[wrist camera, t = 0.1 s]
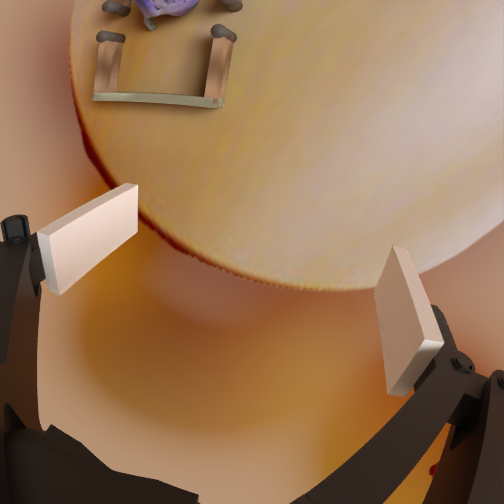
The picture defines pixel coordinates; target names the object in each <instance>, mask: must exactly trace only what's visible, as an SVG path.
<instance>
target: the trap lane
mask: <svg viewBox="0 0 504 504" xmlns="http://www.w3.org/2000/svg"><path fill="white" fill-rule="evenodd" d="M220 1H221V2H222V3H223V4H224V5H226V6H227V7H228V8H229V9H230V10H231V11H234V12H237V11H239V10H241V9H242V6H243V5H242V3H241V0H220ZM130 3H131V0H107V1H106V2H104V4H103V5H102V10H103V11H106V12H109V13H113V14H117V15H121V16H127V15H128V14H129V13H130V10H131V9H130ZM211 34H212V36H214V38H213V44H212V50H211V56H210V62H209V68H208V74H207V81H206V88H205V95H204V97H203V96H193V95H181V94H166V93H144V92H117V85H118V77H119V68H120V61H121V54H122V47H123V43H124V41H125V36H124V35H123V34H118V33H113V32H108V31H100V32H99V33H98V34H97V36H96V40H97V41H98V42H100V43H99V49H98V56H97V64H96V72H95V81H94V92H93V101H131V102H152V103H167V104H179V105H190V106H199V107H208V108H220V107H223V105H224V98H225V92H226V85H227V79H228V73H229V67H230V61H231V55H232V49H233V43H234V42H235V41H236V39H237V36H236V34H235V33H233V32H232V31H230V30H229V29H228V28H226V27H225V26H223V25H221V24H216V25H214V26H213V27H212V28H211Z"/></svg>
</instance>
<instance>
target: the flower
mask: <svg viewBox="0 0 504 504" xmlns="http://www.w3.org/2000/svg"><path fill="white" fill-rule="evenodd" d="M134 2H135V4H136V5H137V6H138V7H139V9H140V10H141V12H142V13H143V16H144V23H145V25H146V26H147V27H148V28H149V29H150V30H155V29H156V27H155V25H154V24H153V22H154V20H153V17H157V16H159V15H163V14H170V15H172V16H181V15H183V14H185V13H187V12H189V11H190V10H191V9H192V8H194V7H195V6H196V5H197V3H198V2H199V0H134Z"/></svg>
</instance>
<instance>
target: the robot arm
mask: <svg viewBox="0 0 504 504" xmlns="http://www.w3.org/2000/svg"><path fill="white" fill-rule="evenodd" d="M137 223H138V185H136V184H130V183H125V184H123V185H121V186H119V187H117V188H115V189H113V190H111V191H109V192H107V193H105V194H103V195H101V196H99V197H97V198H95V199H93V200H91V201H90V202H88V203H86V204H84V205H82V206H80V207H79V208H77V209H75V210H73V211H71V212H69V213H68V214H66V215H64V216H62V217H61V218H59V219H57V220H55V221H54V222H52V223H50V224H49V225H47V226H45V227H43V228H42V229H40V230H38V231H37V232H36V233H34V234H32V235H30V230H29V223H28V217H27V216H26V215H13V216H10V217H7V218H5V219H4V220H3V221H2V222H1V223H0V224H1V229H2V234H3V239H4V242H1V241H0V504H200V503H198V497H199V495H198V494H195V493H192V492H188V491H186V490H183V489H180V488H177V487H174V486H172V485H169V484H167V483H164V482H161V481H159V480H155V479H150V478H145V477H140V476H134V475H130V474H125V473H121V472H117V471H114V470H111V469H110V468H109V467H107V466H106V465H105V464H104V463H103V462H102V461H100V460H99V459H98V458H97V457H96V456H95V455H94V454H93V453H91V452H90V451H89V450H88V449H87V448H86V447H85V446H84V445H83V444H82V443H81V442H79V441H77V440H75V439H74V438H72V437H71V436H69V435H67V434H66V433H64V432H63V431H61V430H59V429H58V428H56V427H55V426H53V425H50V426H49V428H48V429H47V431H43V430H42V427H41V424H40V421H39V414H38V396H37V342H38V323H39V311H40V301H41V300H40V299H41V292H42V289H41V284H40V282H41V281H43V280H44V279H46V283H47V287H48V290H49V291H51V292H53V293H55V294H57V295H61V294H63V293H64V292H65V291H66V290H67V289H68V288H69V287H71V286H72V285H73V284H74V283H75V282H76V281H77V280H79V279H80V278H81V277H82V276H83V275H85V274H86V273H87V272H88V271H89V270H90V269H92V268H93V267H94V266H95V265H97V264H98V263H99V262H100V261H101V260H103V259H104V258H105V257H106V256H107V255H109V254H110V253H111V252H113V251H114V250H115V249H116V248H117V247H119V246H120V245H121V244H123V243H124V242H125V241H126V240H128V239H129V238H130V237H132V236H133V235H134V234H135V233H137V232H138V228H137V226H138V224H137ZM374 296H375V302H376V308H377V314H378V320H379V327H380V334H381V341H382V348H383V356H384V365H385V374H386V383H387V394H388V395H395V396H402V397H406V396H407V395H408V393H409V392H410V391H411V389H412V388H413V387H414V391H415V393H414V394H413V395H412V396H411V398H410V399H409V400H408V401H407V402H406V403H405V404H404V406H403V407H402V408H401V409H400V410H399V411H398V412H397V413H396V414H395V415H394V416H393V417H392V418H391V419H390V421H388V422H387V423H386V424H385V426H384V427H383V428H382V429H381V430H380V431H379V432H378V433H377V434H375V435H374V437H372V439H370V440H369V441H368V442H367V443H366V444H365V445H364V446H363V447H362V448H361V449H360V450H359V451H357V452H356V453H355V454H354V455H353V456H352V457H351V458H350V459H348V460H347V461H346V462H345V463H344V464H343V465H341V466H340V467H339V468H338V469H337V470H335V471H334V472H333V473H332V474H331V475H329V476H328V477H327V478H326V479H324V480H323V481H322V482H321V483H319V484H318V485H317V486H315V487H314V488H313V489H311V490H310V491H309V492H307V493H306V494H304V495H302V496H301V497H299V498H297V499H296V500H294V501H293V502H291V503H290V504H383V503H384V502H385V501H386V499H387V498H388V497H389V496H390V495H391V494H392V493H393V492H394V491H395V490H396V488H397V487H398V486H399V485H400V484H401V483H402V481H403V480H404V479H405V478H406V477H407V475H408V474H409V473H410V472H411V470H412V469H413V468H414V467H415V466H416V464H417V463H418V462H419V460H420V459H421V458H422V456H423V455H424V454H425V452H426V451H427V450H428V448H429V447H430V446H431V444H432V443H433V441H434V440H435V438H436V437H437V435H438V434H439V433H440V431H441V430H442V428H443V427H444V425H445V423H446V422H447V423H450V424H451V427H450V430H449V433H448V437H447V440H446V443H445V446H444V449H443V452H442V455H441V458H440V461H439V463H438V466H437V469H436V472H435V474H434V477H433V479H432V482H431V485H430V487H429V490H428V492H427V494H426V497H425V499H424V501H423V503H422V504H504V371H502V370H495V371H494V372H493V373H492V374H491V376H490V377H489V378H487V377H485V376H482V375H480V374H478V373H476V372H475V366H474V364H473V362H472V360H471V359H470V358H469V357H468V356H467V355H465V354H464V353H462V352H460V351H458V350H457V347H456V345H455V342H454V339H453V337H452V334H451V332H450V331H449V330H450V329H449V327H448V325H447V321H446V319H445V317H444V315H443V313H442V312H441V311H440V310H439V308H438V307H437V306H435V305H431V304H430V303H429V300H428V298H427V295H426V293H425V290H424V288H423V285H422V283H421V281H420V278H419V276H418V274H417V271H416V269H415V267H414V265H413V262H412V260H411V258H410V256H409V254H408V251H407V249H404V248H400V247H397V246H392V248H391V251H390V254H389V256H388V259H387V261H386V264H385V267H384V269H383V272H382V274H381V276H380V279H379V281H378V284H377V286H376V288H375V291H374Z"/></svg>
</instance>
